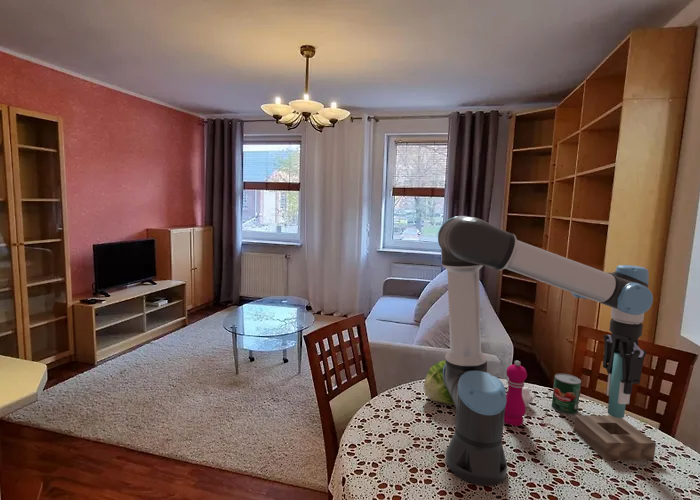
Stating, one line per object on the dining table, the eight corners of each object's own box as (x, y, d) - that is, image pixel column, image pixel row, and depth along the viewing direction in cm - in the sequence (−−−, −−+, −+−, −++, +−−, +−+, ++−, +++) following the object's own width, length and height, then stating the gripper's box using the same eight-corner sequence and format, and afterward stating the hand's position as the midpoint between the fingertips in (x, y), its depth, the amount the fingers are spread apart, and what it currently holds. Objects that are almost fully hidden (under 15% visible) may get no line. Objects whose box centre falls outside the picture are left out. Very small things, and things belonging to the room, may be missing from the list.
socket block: (604, 459, 107) (606, 442, 107) (573, 430, 121) (575, 415, 120) (653, 460, 108) (656, 443, 107) (617, 431, 122) (619, 415, 121)
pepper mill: (526, 428, 121) (533, 366, 119) (502, 425, 122) (507, 363, 120) (521, 416, 128) (527, 357, 126) (498, 413, 129) (503, 355, 127)
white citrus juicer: (514, 399, 140) (516, 380, 139) (533, 404, 136) (535, 385, 135) (510, 405, 135) (511, 386, 134) (529, 411, 131) (531, 392, 130)
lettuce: (418, 397, 143) (411, 363, 138) (468, 376, 148) (463, 342, 143) (440, 427, 129) (433, 391, 123) (495, 403, 133) (490, 366, 128)
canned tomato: (553, 411, 132) (556, 380, 131) (550, 401, 139) (553, 371, 138) (579, 417, 129) (583, 385, 128) (575, 406, 136) (578, 375, 135)
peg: (614, 418, 111) (621, 357, 109) (604, 410, 115) (611, 351, 113) (627, 418, 111) (634, 357, 109) (617, 410, 115) (624, 351, 113)
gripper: (664, 330, 102) (653, 415, 104) (617, 312, 119) (609, 385, 121) (637, 329, 101) (626, 415, 104) (593, 311, 118) (585, 385, 121)
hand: (617, 399), depth 113 cm, fingers closed on peg, 4 cm apart
